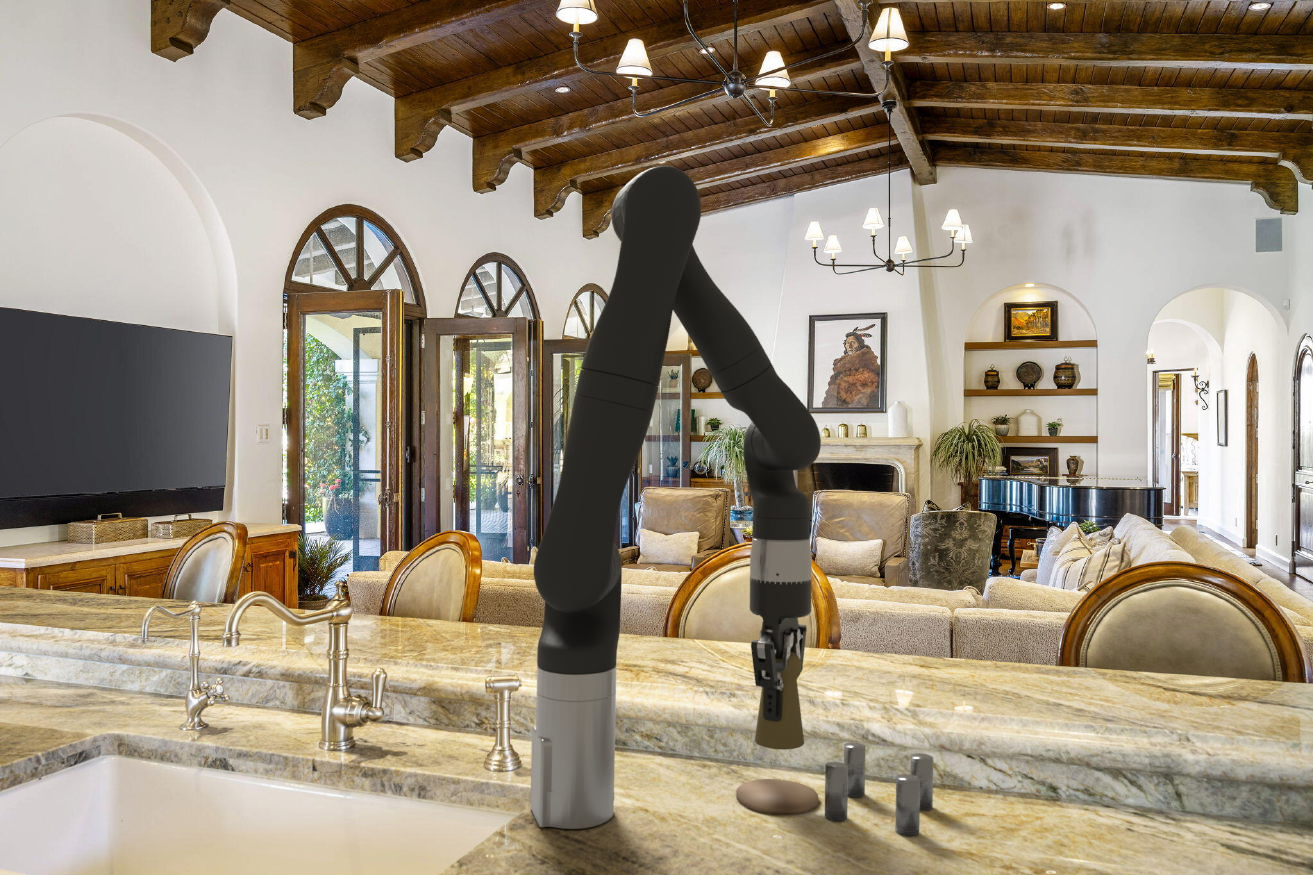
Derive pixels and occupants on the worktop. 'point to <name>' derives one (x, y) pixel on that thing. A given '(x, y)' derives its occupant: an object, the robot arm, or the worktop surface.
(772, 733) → the brown tapered cylinder
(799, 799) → the smooth stone
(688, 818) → the worktop surface
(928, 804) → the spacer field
